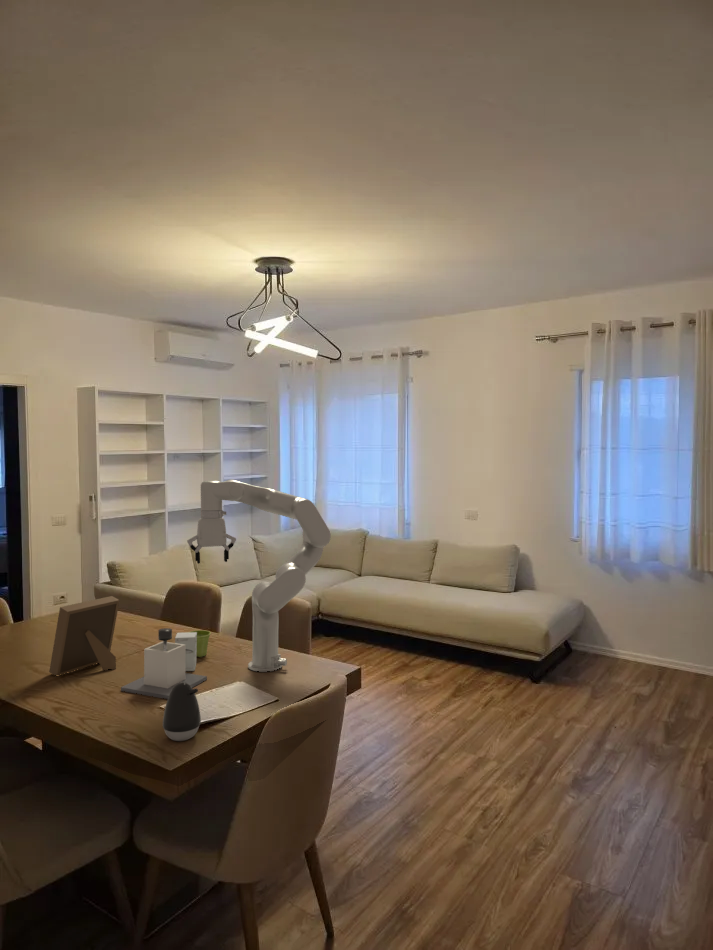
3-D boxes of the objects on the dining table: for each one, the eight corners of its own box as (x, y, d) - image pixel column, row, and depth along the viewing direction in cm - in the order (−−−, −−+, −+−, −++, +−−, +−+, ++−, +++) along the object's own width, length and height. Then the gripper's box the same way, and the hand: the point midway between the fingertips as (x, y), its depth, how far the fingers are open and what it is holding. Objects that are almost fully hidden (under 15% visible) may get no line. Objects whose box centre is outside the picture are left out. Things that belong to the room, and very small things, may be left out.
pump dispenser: (184, 748, 168) (184, 692, 168) (154, 740, 173) (154, 685, 172) (208, 733, 178) (209, 680, 177) (179, 726, 182) (180, 674, 182)
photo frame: (49, 674, 223) (49, 604, 223) (101, 658, 242) (102, 594, 242) (76, 683, 216) (76, 610, 215) (127, 665, 235) (128, 599, 234)
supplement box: (174, 672, 228) (174, 637, 228) (176, 665, 235) (176, 632, 235) (195, 671, 229) (195, 636, 229) (196, 664, 236) (197, 631, 236)
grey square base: (206, 679, 221) (207, 642, 220) (170, 699, 202) (170, 658, 202) (160, 672, 228) (160, 635, 227) (120, 690, 209) (120, 651, 209)
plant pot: (196, 660, 241) (196, 638, 241) (181, 655, 247) (181, 633, 247) (215, 654, 249) (215, 632, 249) (200, 650, 254) (200, 628, 254)
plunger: (179, 678, 217) (180, 628, 216) (166, 685, 210) (167, 633, 210) (163, 676, 219) (163, 626, 219) (149, 682, 213) (150, 631, 212)
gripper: (234, 513, 234) (234, 559, 234) (186, 515, 228) (186, 562, 228) (237, 515, 226) (237, 562, 227) (187, 516, 221) (188, 565, 221)
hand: (212, 562), depth 228 cm, fingers open, 9 cm apart
